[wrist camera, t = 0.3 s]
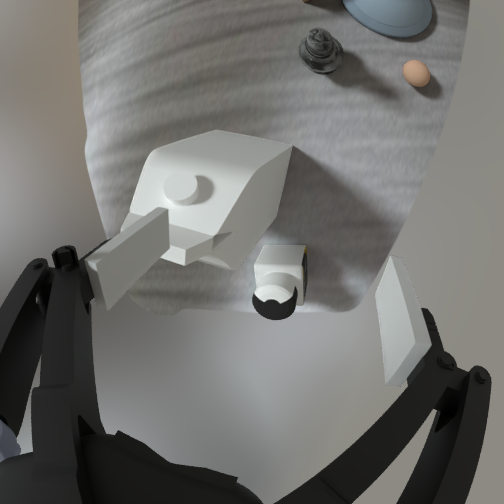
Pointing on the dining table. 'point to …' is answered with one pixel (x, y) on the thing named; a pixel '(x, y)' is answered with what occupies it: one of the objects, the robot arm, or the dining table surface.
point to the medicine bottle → (280, 280)
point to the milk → (213, 194)
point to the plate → (391, 16)
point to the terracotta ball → (416, 73)
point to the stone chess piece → (321, 51)
